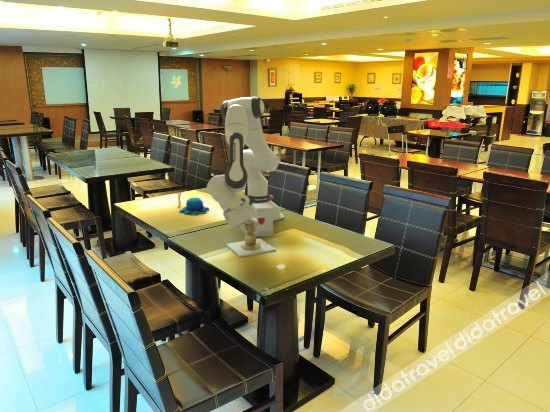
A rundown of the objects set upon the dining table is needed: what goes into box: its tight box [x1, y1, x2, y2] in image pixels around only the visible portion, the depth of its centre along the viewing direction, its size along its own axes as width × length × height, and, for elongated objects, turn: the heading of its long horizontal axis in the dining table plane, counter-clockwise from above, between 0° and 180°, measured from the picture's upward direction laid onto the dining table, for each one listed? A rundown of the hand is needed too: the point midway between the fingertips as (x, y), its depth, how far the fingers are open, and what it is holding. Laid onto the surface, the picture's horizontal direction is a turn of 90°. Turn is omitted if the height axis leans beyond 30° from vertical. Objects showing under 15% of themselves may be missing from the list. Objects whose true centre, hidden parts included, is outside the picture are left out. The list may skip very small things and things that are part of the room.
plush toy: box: [178, 197, 210, 216], centre depth 251 cm, size 17×17×8 cm
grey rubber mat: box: [225, 237, 277, 258], centre depth 195 cm, size 18×16×1 cm
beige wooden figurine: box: [241, 218, 260, 250], centre depth 193 cm, size 9×9×13 cm
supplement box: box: [253, 203, 274, 238], centre depth 213 cm, size 9×9×15 cm
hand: (251, 229), depth 192 cm, fingers open, 8 cm apart
